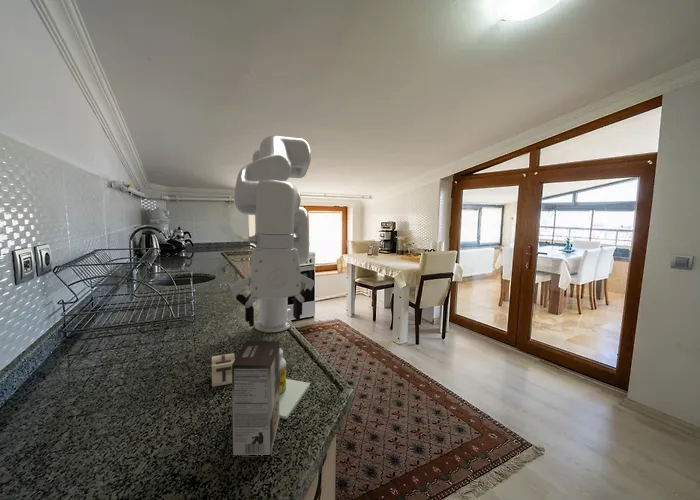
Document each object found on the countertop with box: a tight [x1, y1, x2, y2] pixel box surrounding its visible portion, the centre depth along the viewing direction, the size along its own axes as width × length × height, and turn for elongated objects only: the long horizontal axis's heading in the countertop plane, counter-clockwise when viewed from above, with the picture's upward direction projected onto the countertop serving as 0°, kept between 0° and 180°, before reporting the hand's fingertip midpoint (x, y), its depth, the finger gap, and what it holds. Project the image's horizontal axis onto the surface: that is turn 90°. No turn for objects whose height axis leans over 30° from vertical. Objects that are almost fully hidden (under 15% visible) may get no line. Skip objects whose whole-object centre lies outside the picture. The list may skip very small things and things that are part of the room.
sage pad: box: [279, 378, 311, 420], centre depth 64 cm, size 12×12×1 cm
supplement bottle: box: [279, 347, 287, 398], centre depth 64 cm, size 5×5×10 cm
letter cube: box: [211, 353, 236, 388], centre depth 70 cm, size 5×5×5 cm
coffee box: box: [231, 339, 281, 457], centre depth 52 cm, size 9×6×16 cm
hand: (274, 321), depth 63 cm, fingers open, 9 cm apart
